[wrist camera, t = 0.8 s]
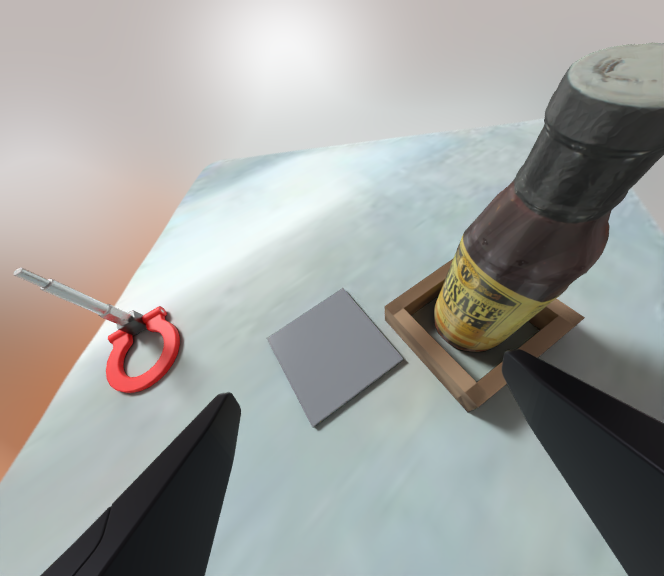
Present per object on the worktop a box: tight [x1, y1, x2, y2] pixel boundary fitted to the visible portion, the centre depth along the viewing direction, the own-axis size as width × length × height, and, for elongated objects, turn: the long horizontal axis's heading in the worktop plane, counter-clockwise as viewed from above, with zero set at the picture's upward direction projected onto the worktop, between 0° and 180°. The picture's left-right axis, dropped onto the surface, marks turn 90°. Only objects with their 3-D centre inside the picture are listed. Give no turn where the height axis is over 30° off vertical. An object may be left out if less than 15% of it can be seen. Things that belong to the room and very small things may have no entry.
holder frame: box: [385, 258, 585, 412], centre depth 23 cm, size 10×11×3 cm
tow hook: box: [14, 268, 180, 393], centre depth 24 cm, size 8×13×9 cm
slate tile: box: [267, 288, 403, 427], centre depth 25 cm, size 10×10×1 cm
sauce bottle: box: [434, 43, 664, 352], centre depth 16 cm, size 6×6×20 cm
